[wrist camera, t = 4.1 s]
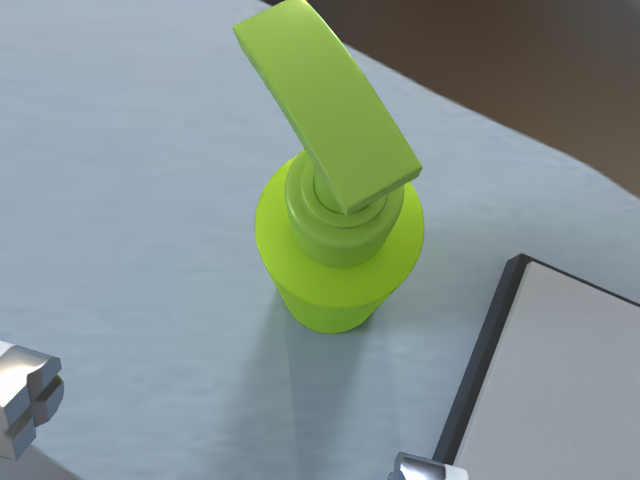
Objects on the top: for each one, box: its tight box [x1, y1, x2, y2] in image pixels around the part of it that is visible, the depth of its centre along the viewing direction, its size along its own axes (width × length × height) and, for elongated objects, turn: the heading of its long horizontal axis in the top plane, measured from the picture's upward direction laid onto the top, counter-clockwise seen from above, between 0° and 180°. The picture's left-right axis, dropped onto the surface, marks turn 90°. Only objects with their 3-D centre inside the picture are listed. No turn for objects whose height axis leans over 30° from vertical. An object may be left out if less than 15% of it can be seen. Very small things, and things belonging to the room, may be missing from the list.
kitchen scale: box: [432, 253, 640, 480], centre depth 27 cm, size 13×13×3 cm
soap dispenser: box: [233, 0, 424, 334], centre depth 21 cm, size 6×7×20 cm
